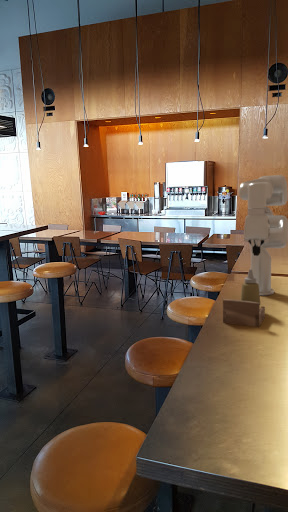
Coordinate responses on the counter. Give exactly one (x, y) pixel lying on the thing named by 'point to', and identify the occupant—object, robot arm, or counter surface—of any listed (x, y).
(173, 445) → the counter surface
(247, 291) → the squeeze bottle
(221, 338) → the counter surface
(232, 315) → the walnut holder
